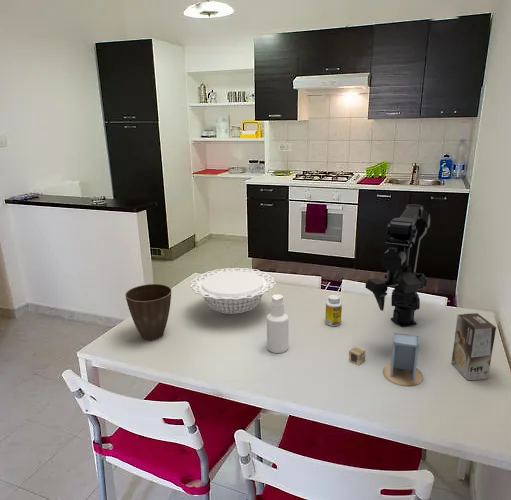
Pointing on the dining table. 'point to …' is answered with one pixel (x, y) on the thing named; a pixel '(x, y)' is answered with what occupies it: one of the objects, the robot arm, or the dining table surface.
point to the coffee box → (473, 346)
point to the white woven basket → (232, 288)
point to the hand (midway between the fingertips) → (394, 308)
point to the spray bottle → (277, 326)
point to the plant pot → (149, 309)
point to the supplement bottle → (333, 311)
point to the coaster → (402, 376)
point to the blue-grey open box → (405, 353)
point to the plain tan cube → (357, 355)
